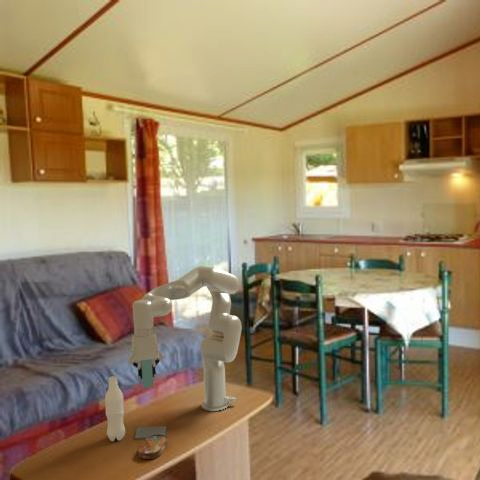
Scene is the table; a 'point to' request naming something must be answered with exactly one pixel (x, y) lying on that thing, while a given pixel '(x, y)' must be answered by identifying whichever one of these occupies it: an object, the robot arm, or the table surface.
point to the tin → (152, 446)
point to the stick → (147, 373)
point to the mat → (149, 432)
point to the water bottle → (114, 410)
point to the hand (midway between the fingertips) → (147, 376)
